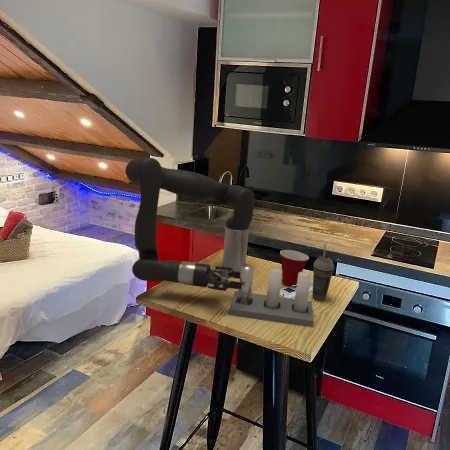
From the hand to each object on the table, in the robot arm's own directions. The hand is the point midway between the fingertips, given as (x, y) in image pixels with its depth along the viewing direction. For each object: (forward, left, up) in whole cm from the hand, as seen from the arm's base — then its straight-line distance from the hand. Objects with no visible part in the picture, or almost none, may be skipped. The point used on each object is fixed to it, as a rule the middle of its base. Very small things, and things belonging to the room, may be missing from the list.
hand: (243, 280), depth 139 cm
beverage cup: (-15, +26, -9) cm, 31 cm away
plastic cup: (-25, +16, -9) cm, 31 cm away
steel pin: (0, +1, -9) cm, 9 cm away
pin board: (0, +10, -9) cm, 13 cm away
